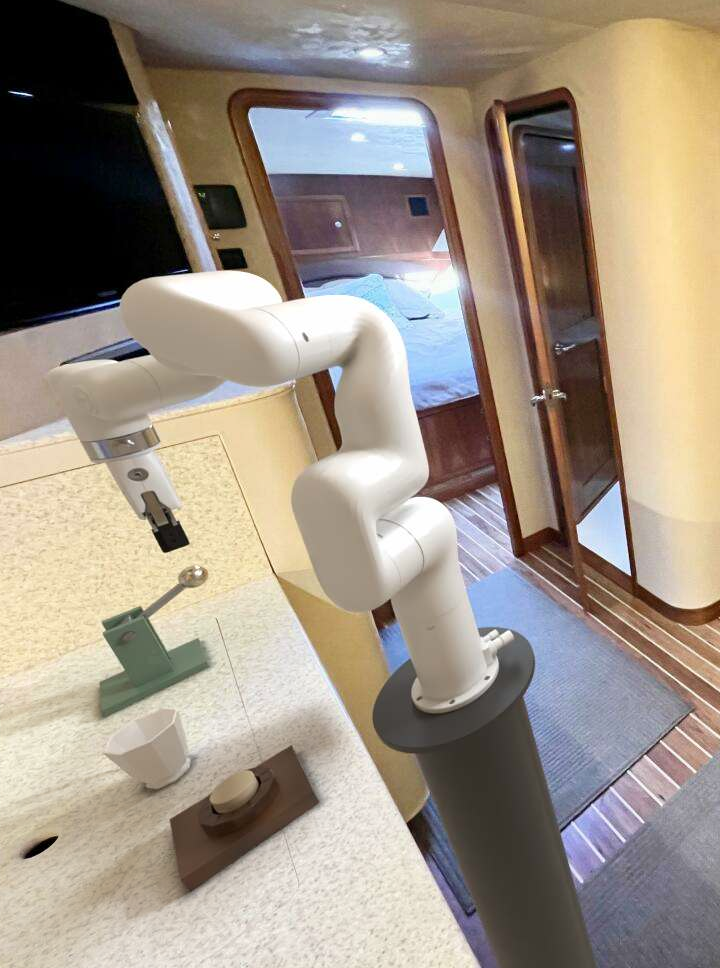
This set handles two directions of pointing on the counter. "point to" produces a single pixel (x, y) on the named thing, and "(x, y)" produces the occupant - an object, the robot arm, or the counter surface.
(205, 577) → the lever
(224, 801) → the button
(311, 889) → the counter surface
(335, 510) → the robot arm
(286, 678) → the counter surface
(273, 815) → the button box
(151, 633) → the bracket
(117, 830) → the counter surface
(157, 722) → the cup
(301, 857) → the counter surface
